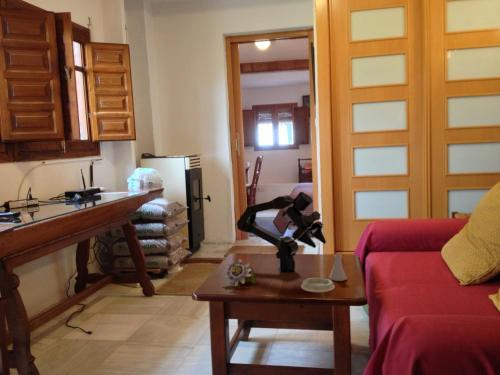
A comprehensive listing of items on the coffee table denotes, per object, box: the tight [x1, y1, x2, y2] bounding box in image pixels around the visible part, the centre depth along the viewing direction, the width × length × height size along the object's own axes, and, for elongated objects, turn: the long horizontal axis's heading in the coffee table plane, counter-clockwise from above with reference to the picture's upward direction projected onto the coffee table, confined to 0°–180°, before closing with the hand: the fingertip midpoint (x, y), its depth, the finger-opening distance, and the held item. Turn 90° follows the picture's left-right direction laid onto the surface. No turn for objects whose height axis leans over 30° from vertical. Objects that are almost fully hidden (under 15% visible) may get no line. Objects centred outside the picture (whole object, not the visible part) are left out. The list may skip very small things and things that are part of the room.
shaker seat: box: [300, 277, 335, 293], centre depth 170 cm, size 13×13×2 cm
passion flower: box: [222, 258, 257, 287], centre depth 179 cm, size 11×11×12 cm
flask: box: [328, 254, 348, 282], centre depth 180 cm, size 7×7×10 cm
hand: (320, 245), depth 184 cm, fingers open, 9 cm apart
